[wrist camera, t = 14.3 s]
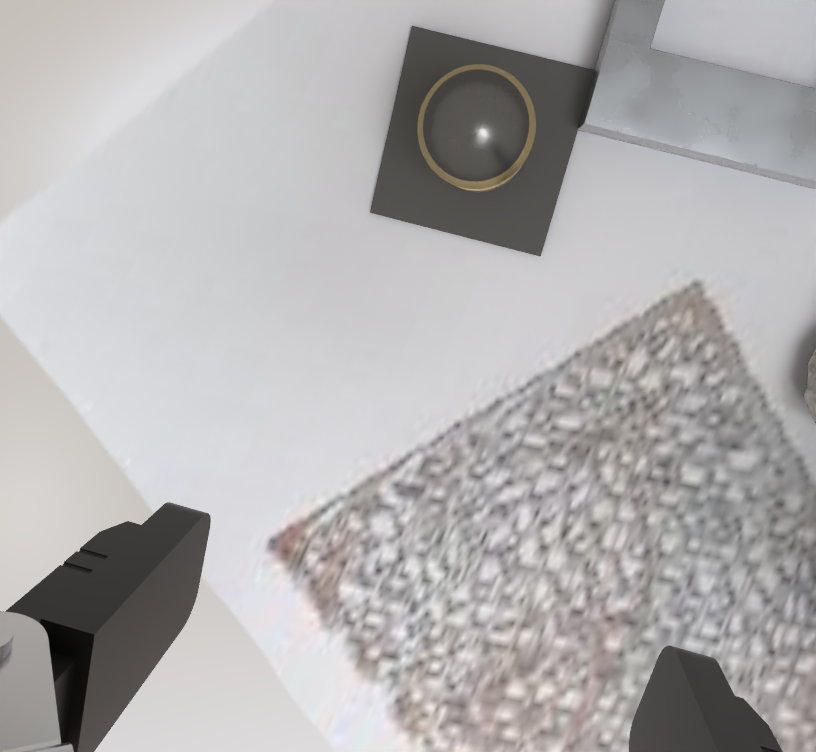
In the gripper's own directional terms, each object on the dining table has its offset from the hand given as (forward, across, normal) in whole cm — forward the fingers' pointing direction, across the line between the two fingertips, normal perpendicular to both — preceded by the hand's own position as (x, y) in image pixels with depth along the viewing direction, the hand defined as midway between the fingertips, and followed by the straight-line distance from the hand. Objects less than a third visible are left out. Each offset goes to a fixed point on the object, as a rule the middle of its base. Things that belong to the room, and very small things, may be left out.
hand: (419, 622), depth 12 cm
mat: (+30, +2, -10) cm, 32 cm away
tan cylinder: (+30, +2, -10) cm, 31 cm away
